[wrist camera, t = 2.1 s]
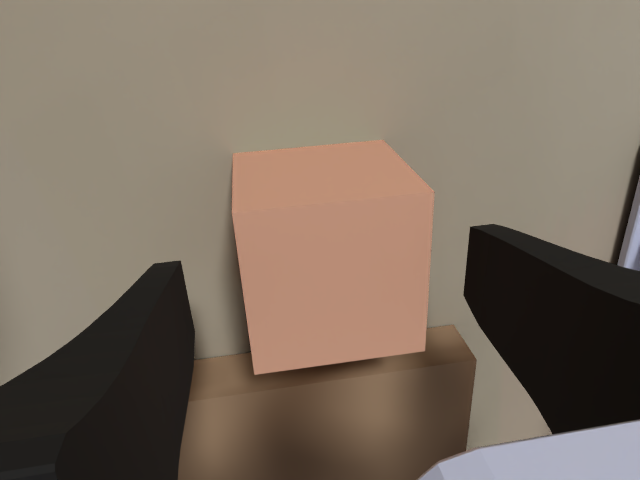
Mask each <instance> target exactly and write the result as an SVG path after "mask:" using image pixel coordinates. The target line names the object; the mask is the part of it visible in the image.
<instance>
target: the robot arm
mask: <svg viewBox="0 0 640 480" xmlns="http://www.w3.org/2000/svg"><path fill="white" fill-rule="evenodd" d="M464 297H465V299H466V301H467V303H468V305H469V307H470V309H471V311H472V313H473V315H474V317H475V319H476V321H477V323H478V324H479V326H480V328H481V329H482V330H483V332H484V333H485V335H486V336H487V338H488V339H489V340H490V342H491V343H492V345H493V346H494V347H495V349H496V350H497V351H498V353H499V354H500V356H501V357H502V358H503V360H504V361H505V362H506V364H507V365H508V366H509V368H510V369H511V371H512V372H513V373H514V375H515V376H516V377H517V379H518V380H519V381H520V383H521V384H522V386H523V387H524V388H525V390H526V391H527V392H528V394H529V395H530V397H531V398H532V400H533V401H534V403H535V404H536V406H537V408H538V409H539V411H540V413H541V414H542V416H543V418H544V420H545V421H546V423H547V425H548V427H549V428H550V430H551V432H552V435H546V436H541V437H535V438H529V439H523V440H518V441H512V442H506V443H500V444H495V445H489V446H483V447H477V448H473V449H470V450H468V451H465V452H462V453H459V454H457V455H454V456H451V457H448V458H445V459H443V460H440V461H438V462H437V463H435V464H434V465H433V466H432V467H431V468H430V469H428V470H427V471H426V472H425V473H424V474H422V475H421V476H420V477H419V478H418V479H417V480H640V177H639V181H638V185H637V189H636V193H635V197H634V201H633V204H632V208H631V212H630V216H629V220H628V224H627V228H626V232H625V236H624V240H623V244H622V248H621V252H620V256H619V260H618V264H617V265H615V264H611V263H608V262H605V261H602V260H599V259H595V258H592V257H589V256H586V255H583V254H580V253H577V252H574V251H571V250H569V249H566V248H563V247H560V246H557V245H555V244H552V243H549V242H547V241H544V240H541V239H538V238H536V237H533V236H530V235H527V234H525V233H522V232H519V231H516V230H513V229H510V228H507V227H503V226H500V225H495V224H489V225H481V226H472V227H470V233H469V244H468V254H467V264H466V275H465V285H464ZM194 338H195V331H194V325H193V320H192V315H191V310H190V305H189V300H188V295H187V290H186V285H185V280H184V275H183V270H182V265H181V261H172V262H164V263H155V264H153V265H152V266H151V267H150V268H149V269H148V270H147V271H146V272H145V273H144V274H143V275H142V276H141V277H140V278H139V279H138V280H137V281H136V282H135V283H134V284H133V285H132V286H131V287H130V288H129V289H128V290H127V291H126V292H125V293H124V294H123V295H122V296H121V297H120V298H119V299H118V300H117V301H116V302H115V303H114V304H113V305H112V306H111V307H110V308H109V309H108V310H107V311H105V312H104V313H103V314H102V315H101V316H100V317H99V318H98V319H96V320H95V321H94V322H93V323H92V324H91V325H90V326H89V327H87V328H86V329H85V330H84V331H83V332H81V333H80V334H79V335H78V336H76V337H75V338H74V339H72V340H71V341H70V342H69V343H67V344H66V345H64V346H63V347H62V348H60V349H59V350H57V351H56V352H55V353H53V354H52V355H50V356H49V357H47V358H46V359H45V360H43V361H41V362H40V363H38V364H37V365H35V366H33V367H32V368H30V369H28V370H27V371H25V372H23V373H22V374H20V375H19V376H17V377H15V378H14V379H12V380H10V381H9V382H7V383H5V384H4V385H2V386H0V480H178V468H179V458H180V450H181V443H182V437H183V431H184V425H185V419H186V413H187V406H188V400H189V394H190V388H191V382H192V375H193V369H194Z"/></svg>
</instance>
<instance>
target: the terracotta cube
mask: <svg viewBox="0 0 640 480" xmlns="http://www.w3.org/2000/svg"><path fill="white" fill-rule="evenodd" d="M433 208H434V191H433V190H432V189H431V188H430V187H429V186H428V185H427V184H426V183H425V182H424V181H423V180H422V179H421V178H420V177H419V176H418V175H417V174H416V173H415V172H414V171H413V170H412V169H411V168H410V167H409V166H408V165H407V164H406V163H405V162H404V161H403V160H402V159H401V158H400V157H399V156H398V154H397V153H396V152H395V151H394V150H393V149H392V148H391V147H390V146H389V145H388V144H387V143H386V142H385V141H384V140H375V141H364V142H353V143H342V144H332V145H321V146H310V147H299V148H288V149H277V150H266V151H255V152H244V153H233V179H232V217H233V224H234V231H235V238H236V246H237V253H238V260H239V267H240V275H241V282H242V289H243V296H244V303H245V311H246V318H247V325H248V332H249V339H250V347H251V354H252V361H253V368H254V375H257V374H264V373H271V372H279V371H286V370H293V369H300V368H307V367H315V366H322V365H329V364H336V363H343V362H350V361H358V360H365V359H372V358H379V357H386V356H394V355H401V354H408V353H415V352H422V351H425V344H426V327H427V310H428V293H429V276H430V259H431V242H432V225H433Z"/></svg>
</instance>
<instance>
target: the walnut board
mask: <svg viewBox="0 0 640 480" xmlns="http://www.w3.org/2000/svg"><path fill="white" fill-rule="evenodd" d="M475 369H476V358H475V356H474V355H473V353H472V352H471V350H470V349H469V347H468V346H467V344H466V343H465V341H464V340H463V338H462V337H461V335H460V334H459V332H458V331H457V329H456V328H455V326H454V325H448V326H441V327H433V328H426V344H425V351H422V352H415V353H408V354H401V355H394V356H386V357H379V358H372V359H365V360H358V361H350V362H343V363H336V364H329V365H322V366H315V367H307V368H300V369H293V370H286V371H279V372H271V373H264V374H257V375H254V368H253V361H252V354H251V353H243V354H236V355H229V356H221V357H214V358H207V359H199V360H194V369H193V375H192V382H191V388H190V394H189V400H188V406H187V413H186V419H185V425H184V431H183V437H182V443H181V450H180V458H179V468H178V480H417V479H418V478H419V477H420V476H421V475H422V474H424V473H425V472H426V471H427V470H428V469H430V468H431V467H432V466H433V465H434V464H435V463H437V462H438V461H440V460H443V459H445V458H448V457H451V456H454V455H457V454H459V453H462V452H465V451H466V445H467V437H468V428H469V420H470V411H471V403H472V394H473V386H474V377H475Z"/></svg>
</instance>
